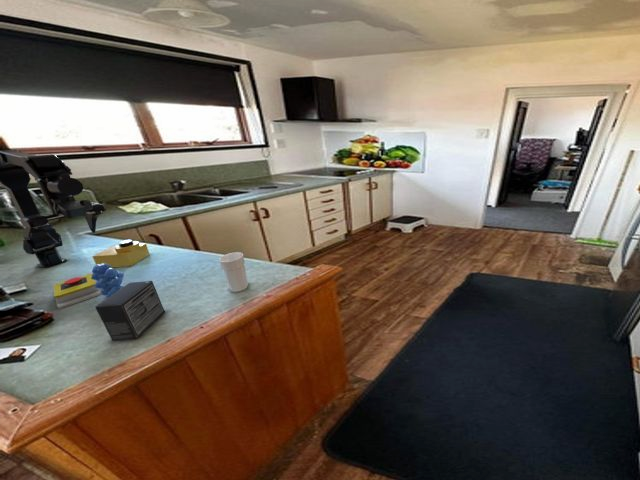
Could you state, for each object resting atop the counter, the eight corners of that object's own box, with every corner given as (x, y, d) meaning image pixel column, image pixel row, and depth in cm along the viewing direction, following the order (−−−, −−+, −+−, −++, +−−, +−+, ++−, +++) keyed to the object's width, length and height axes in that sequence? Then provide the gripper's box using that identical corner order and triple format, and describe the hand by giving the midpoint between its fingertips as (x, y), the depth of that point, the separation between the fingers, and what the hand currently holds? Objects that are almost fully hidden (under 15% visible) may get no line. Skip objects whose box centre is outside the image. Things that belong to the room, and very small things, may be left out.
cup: (254, 283, 89) (248, 253, 85) (238, 294, 83) (230, 263, 79) (239, 280, 91) (232, 251, 87) (222, 291, 85) (213, 260, 82)
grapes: (142, 292, 86) (129, 259, 82) (117, 305, 80) (101, 269, 76) (119, 286, 90) (105, 254, 86) (93, 298, 84) (77, 264, 80)
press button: (117, 248, 104) (115, 244, 104) (125, 244, 108) (124, 240, 107) (128, 247, 104) (126, 243, 104) (136, 243, 108) (134, 239, 108)
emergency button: (91, 268, 94) (96, 282, 85) (96, 279, 95) (101, 294, 86) (50, 279, 87) (51, 296, 78) (56, 291, 89) (58, 309, 80)
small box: (142, 313, 76) (128, 281, 73) (166, 311, 77) (154, 279, 73) (109, 341, 66) (92, 306, 63) (137, 339, 67) (122, 303, 63)
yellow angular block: (97, 268, 103) (90, 252, 101) (119, 256, 112) (113, 241, 110) (132, 266, 104) (125, 249, 102) (151, 254, 113) (145, 239, 111)
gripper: (26, 203, 79) (51, 251, 84) (106, 189, 95) (122, 230, 100) (8, 200, 82) (33, 247, 88) (88, 187, 99) (105, 227, 104)
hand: (77, 237), depth 95 cm, fingers open, 9 cm apart
